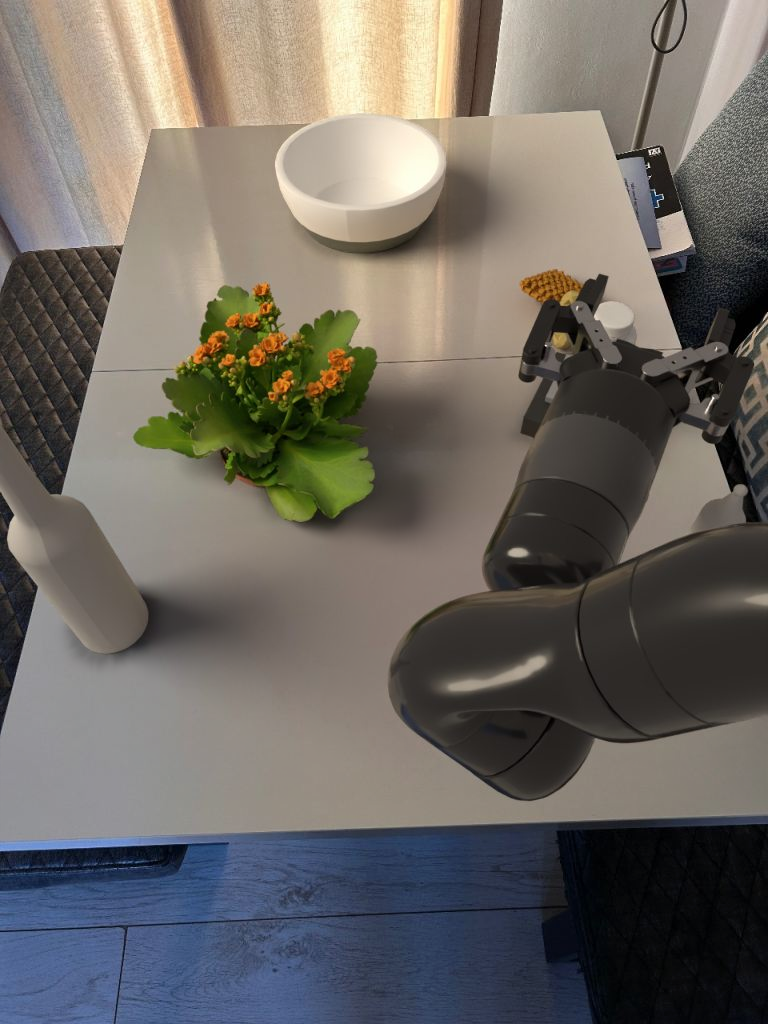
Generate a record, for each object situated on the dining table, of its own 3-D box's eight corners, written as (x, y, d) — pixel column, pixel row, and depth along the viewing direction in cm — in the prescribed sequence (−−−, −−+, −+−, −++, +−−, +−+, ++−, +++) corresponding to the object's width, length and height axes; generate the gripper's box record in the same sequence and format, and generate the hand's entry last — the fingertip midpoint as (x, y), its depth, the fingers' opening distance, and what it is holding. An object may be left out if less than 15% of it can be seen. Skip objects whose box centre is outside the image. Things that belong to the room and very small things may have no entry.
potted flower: (127, 540, 77) (66, 426, 62) (167, 370, 90) (124, 243, 76) (376, 540, 76) (372, 425, 62) (379, 369, 90) (376, 242, 75)
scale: (645, 397, 87) (653, 376, 84) (617, 466, 81) (625, 446, 78) (552, 367, 90) (557, 346, 87) (520, 432, 84) (524, 412, 81)
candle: (599, 645, 70) (685, 483, 49) (635, 612, 72) (733, 443, 51) (643, 686, 68) (753, 534, 47) (679, 651, 69) (800, 490, 49)
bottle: (76, 599, 73) (-73, 400, 50) (145, 583, 74) (31, 379, 51) (79, 661, 70) (-80, 477, 46) (152, 643, 70) (32, 454, 47)
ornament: (525, 239, 95) (538, 297, 84) (604, 258, 96) (627, 318, 85) (507, 288, 100) (517, 350, 89) (583, 305, 101) (602, 368, 90)
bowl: (451, 174, 112) (455, 118, 105) (434, 273, 99) (437, 216, 92) (300, 163, 114) (294, 107, 107) (266, 259, 101) (256, 202, 95)
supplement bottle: (624, 377, 84) (650, 304, 75) (610, 412, 81) (635, 340, 73) (575, 362, 85) (595, 289, 77) (560, 396, 82) (578, 323, 74)
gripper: (732, 465, 41) (784, 286, 50) (487, 383, 45) (573, 229, 53) (688, 539, 48) (741, 369, 56) (476, 462, 51) (554, 313, 59)
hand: (659, 301), depth 54 cm, fingers open, 8 cm apart
